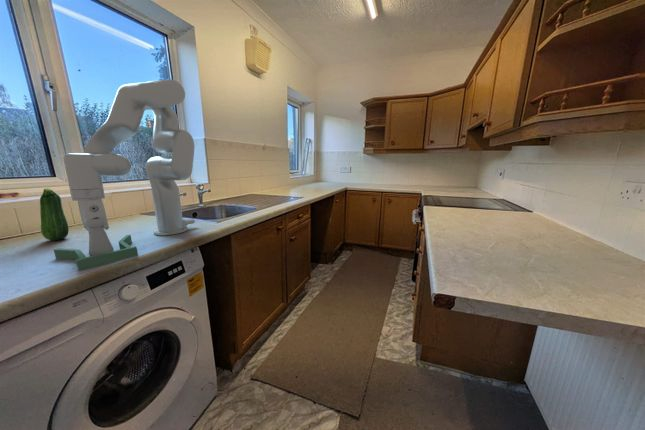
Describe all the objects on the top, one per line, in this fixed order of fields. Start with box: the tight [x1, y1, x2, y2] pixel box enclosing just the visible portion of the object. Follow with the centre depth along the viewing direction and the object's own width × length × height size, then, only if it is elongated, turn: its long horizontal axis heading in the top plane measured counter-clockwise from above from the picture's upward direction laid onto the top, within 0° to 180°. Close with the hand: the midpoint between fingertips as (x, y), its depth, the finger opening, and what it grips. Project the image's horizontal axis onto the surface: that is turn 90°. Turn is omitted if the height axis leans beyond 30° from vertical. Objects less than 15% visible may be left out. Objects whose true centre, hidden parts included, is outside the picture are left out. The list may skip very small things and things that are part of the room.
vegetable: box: [39, 188, 70, 241], centre depth 93 cm, size 7×7×20 cm
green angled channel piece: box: [53, 234, 139, 271], centre depth 80 cm, size 20×18×3 cm
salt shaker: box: [86, 218, 115, 257], centre depth 76 cm, size 6×6×13 cm
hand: (99, 250), depth 80 cm, fingers closed
